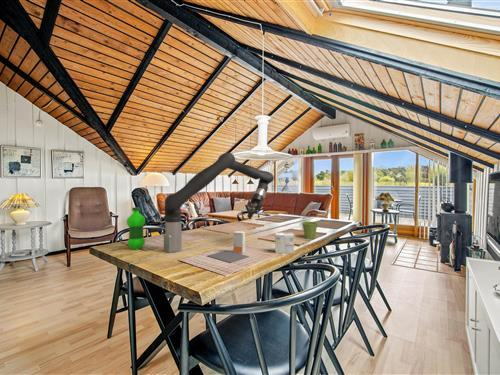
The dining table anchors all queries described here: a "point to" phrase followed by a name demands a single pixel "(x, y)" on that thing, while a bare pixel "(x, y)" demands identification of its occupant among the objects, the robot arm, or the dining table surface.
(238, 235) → the skincare box
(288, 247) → the light bulb box
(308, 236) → the plant pot
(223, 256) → the mat
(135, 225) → the plastic bottle
